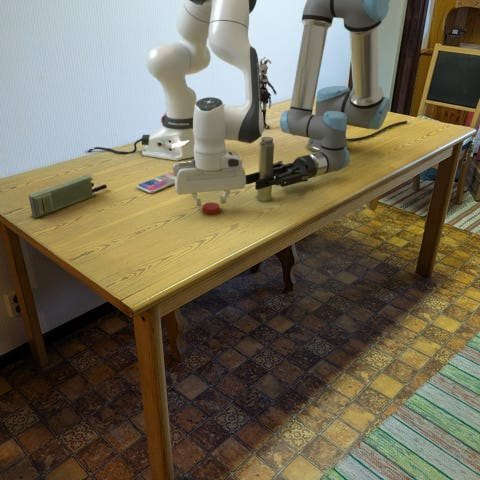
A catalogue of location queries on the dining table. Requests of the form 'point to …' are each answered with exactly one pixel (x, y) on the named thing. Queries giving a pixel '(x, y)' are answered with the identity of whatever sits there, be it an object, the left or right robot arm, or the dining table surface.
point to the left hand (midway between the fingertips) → (210, 204)
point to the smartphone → (157, 183)
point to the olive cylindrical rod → (265, 166)
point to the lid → (211, 208)
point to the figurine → (264, 91)
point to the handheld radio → (62, 195)
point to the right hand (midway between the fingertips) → (251, 182)
